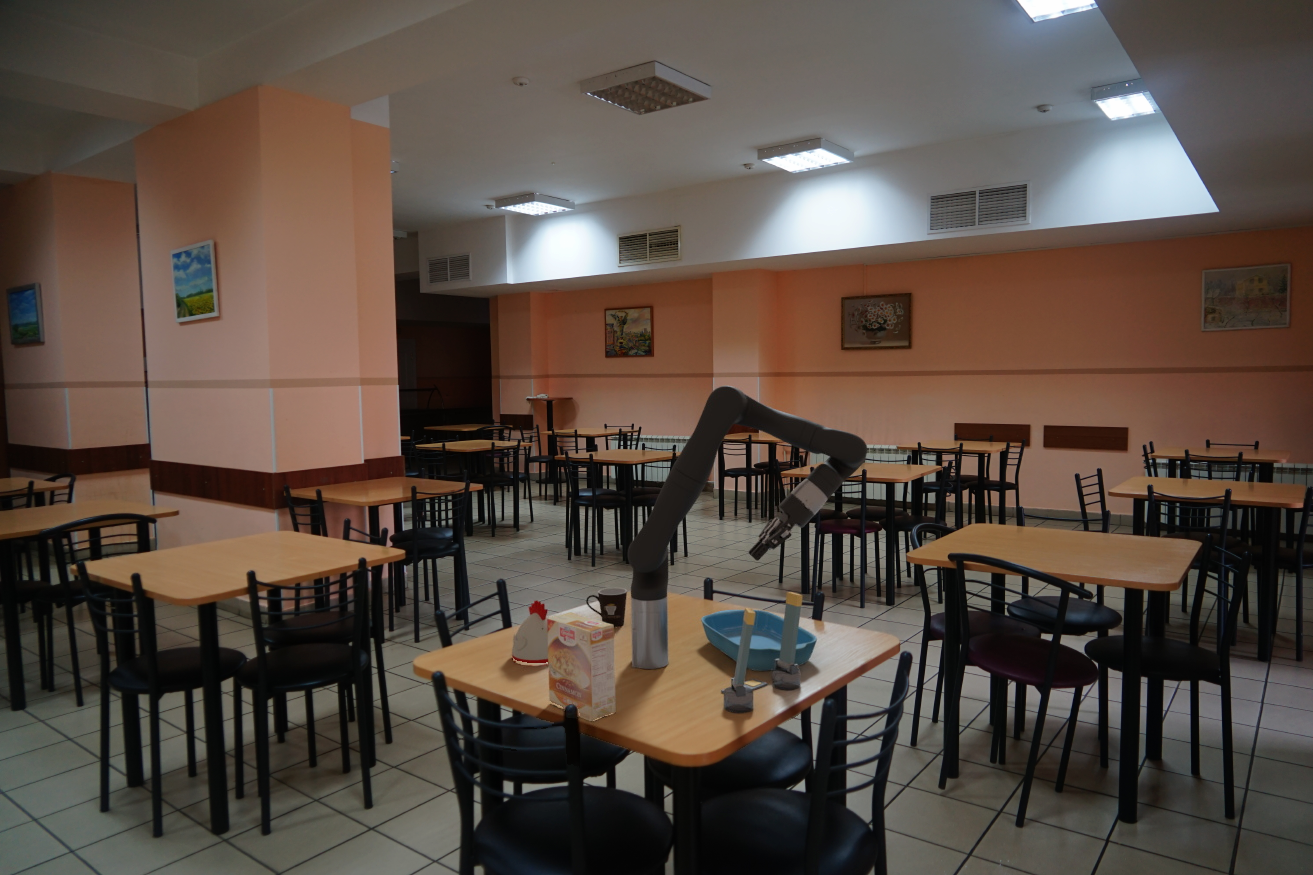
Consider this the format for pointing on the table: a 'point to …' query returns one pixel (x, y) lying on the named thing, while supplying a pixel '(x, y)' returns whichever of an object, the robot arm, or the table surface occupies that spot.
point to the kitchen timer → (532, 636)
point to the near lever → (744, 648)
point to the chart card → (753, 684)
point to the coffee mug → (611, 605)
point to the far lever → (790, 630)
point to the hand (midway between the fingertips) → (752, 556)
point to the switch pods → (743, 695)
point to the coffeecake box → (581, 664)
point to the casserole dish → (755, 637)
